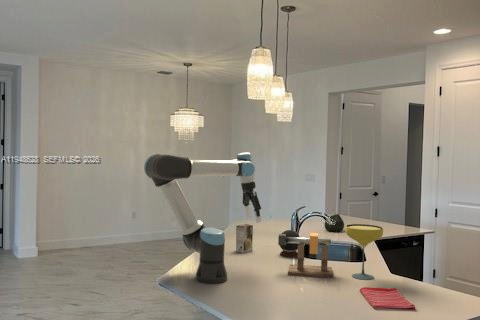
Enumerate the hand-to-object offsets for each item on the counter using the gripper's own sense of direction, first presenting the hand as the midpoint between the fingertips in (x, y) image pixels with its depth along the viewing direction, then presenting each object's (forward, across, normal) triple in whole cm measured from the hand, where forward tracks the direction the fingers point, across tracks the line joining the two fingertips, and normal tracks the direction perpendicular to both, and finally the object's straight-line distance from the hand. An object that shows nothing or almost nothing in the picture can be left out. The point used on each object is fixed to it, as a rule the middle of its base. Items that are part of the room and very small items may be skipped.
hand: (253, 219), depth 242 cm
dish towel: (+28, -72, -26) cm, 81 cm away
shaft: (+14, -22, -17) cm, 31 cm away
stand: (+27, -24, -17) cm, 40 cm away
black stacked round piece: (+31, +14, -24) cm, 42 cm away
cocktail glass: (+31, -39, -38) cm, 63 cm away
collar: (+17, -24, -21) cm, 36 cm away
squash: (+50, +80, -97) cm, 135 cm away
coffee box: (+27, +31, -2) cm, 42 cm away
